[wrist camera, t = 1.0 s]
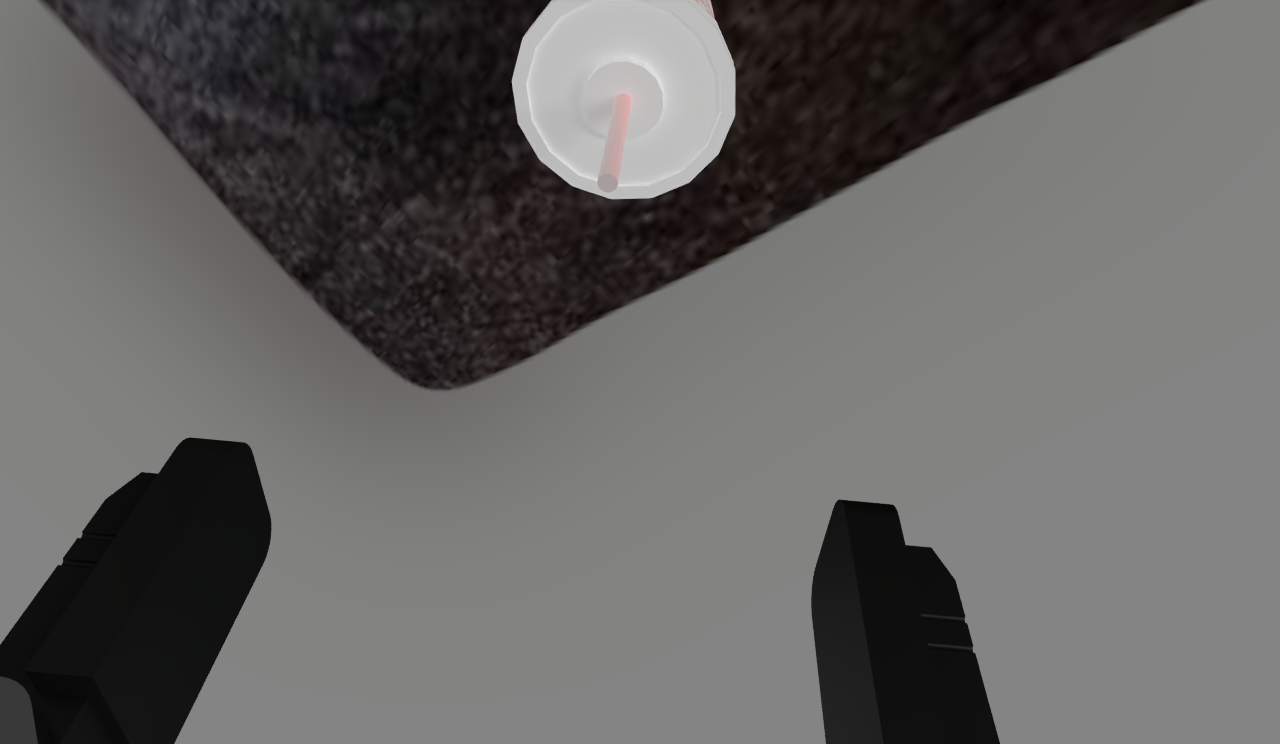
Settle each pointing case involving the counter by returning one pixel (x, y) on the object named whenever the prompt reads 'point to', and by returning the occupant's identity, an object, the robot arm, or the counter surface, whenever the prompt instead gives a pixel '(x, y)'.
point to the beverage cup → (625, 93)
